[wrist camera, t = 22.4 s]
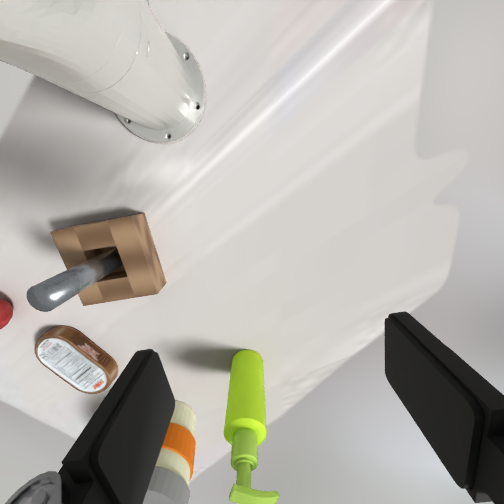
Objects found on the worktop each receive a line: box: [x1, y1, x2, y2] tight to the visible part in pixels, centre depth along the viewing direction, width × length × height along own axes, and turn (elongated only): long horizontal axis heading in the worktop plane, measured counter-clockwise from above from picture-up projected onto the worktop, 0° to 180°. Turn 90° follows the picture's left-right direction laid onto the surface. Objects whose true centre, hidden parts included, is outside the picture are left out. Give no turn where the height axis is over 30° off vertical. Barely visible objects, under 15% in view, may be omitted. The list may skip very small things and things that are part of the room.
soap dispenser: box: [224, 350, 279, 504], centre depth 35 cm, size 6×7×20 cm
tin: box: [35, 326, 118, 394], centre depth 43 cm, size 15×3×8 cm
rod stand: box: [50, 213, 166, 306], centre depth 36 cm, size 12×12×4 cm
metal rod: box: [27, 248, 123, 312], centre depth 31 cm, size 3×3×14 cm
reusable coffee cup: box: [143, 400, 196, 504], centre depth 42 cm, size 12×12×15 cm
